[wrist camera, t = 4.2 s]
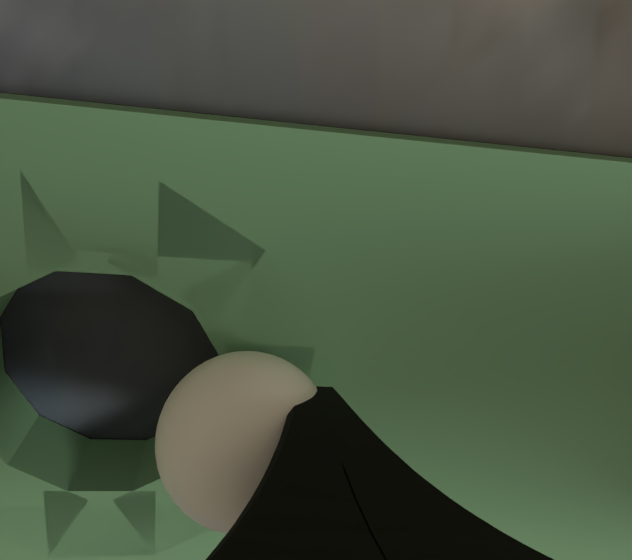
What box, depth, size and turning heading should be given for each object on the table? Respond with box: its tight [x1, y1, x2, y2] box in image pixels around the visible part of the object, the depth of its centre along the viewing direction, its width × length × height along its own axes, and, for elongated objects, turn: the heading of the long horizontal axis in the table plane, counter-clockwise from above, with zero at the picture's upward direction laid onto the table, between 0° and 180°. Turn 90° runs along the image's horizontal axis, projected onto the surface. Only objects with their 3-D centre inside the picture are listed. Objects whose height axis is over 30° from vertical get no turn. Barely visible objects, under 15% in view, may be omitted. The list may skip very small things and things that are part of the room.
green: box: [0, 93, 632, 560], centre depth 14 cm, size 24×12×2 cm, turn 84°
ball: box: [155, 351, 317, 534], centre depth 11 cm, size 4×4×4 cm
